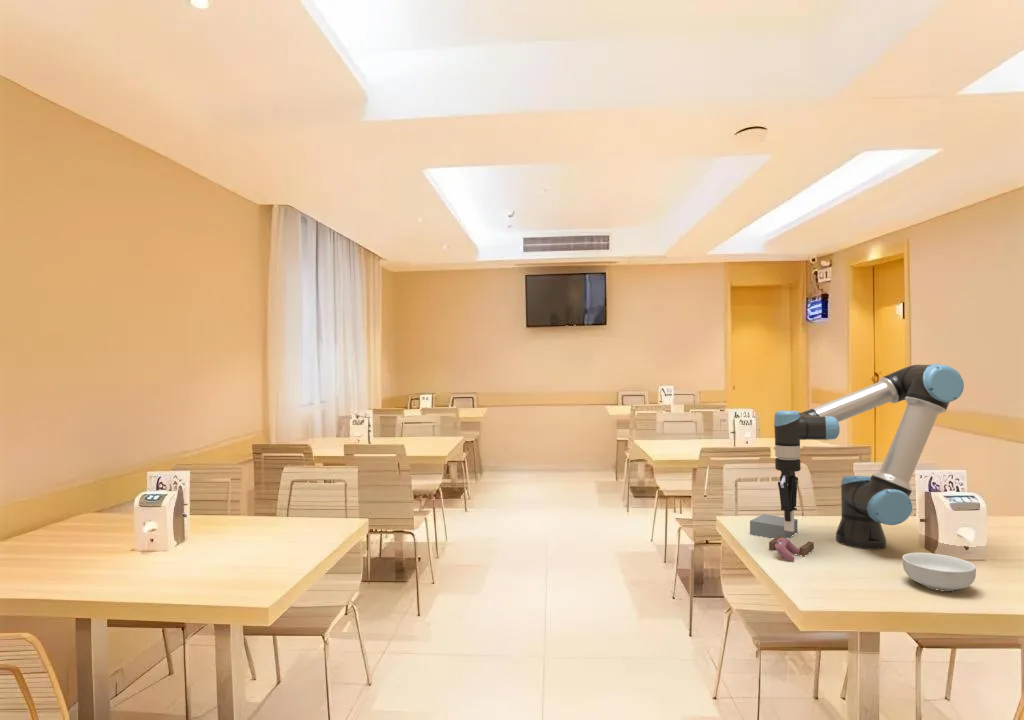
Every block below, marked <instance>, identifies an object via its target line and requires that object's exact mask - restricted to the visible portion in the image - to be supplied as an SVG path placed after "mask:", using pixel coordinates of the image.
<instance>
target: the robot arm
mask: <svg viewBox="0 0 1024 720" xmlns="http://www.w3.org/2000/svg"><path fill="white" fill-rule="evenodd" d="M964 387H965V384H964V379H963V377H962V375H961V374H960V372H959V371H958V370H957V369H955V368H953V367H952V366H950V365H946V364H941V363H936V364H935V363H933V364H913V365H909V366H906V367H903V368H901V369H898V370H896V371H894V372H892V373H889V374H887V375H885V376H882V377H880V378H879V379H878V381H877V382H876V383H872V384H870V385H868V386H865V387H862V388H859V389H858V390H856V391H853V392H850V393H848V394H844V395H843V396H840V397H838V398H835V399H833V400H831V401H827V402H825V403H822V404H820V405H818V406H815V407H812V408H810V409H808V410H805V411H803V412H799V411H798V410H777V411H776V412H775V413H774V419H773V421H774V423H773V426H774V428H773V429H774V447H773V450H774V455H775V457H776V458H775V459H774V461H775V462H774V464H775V465H774V466H775V467H774V468H775V470H777V471H780V477H779V480H780V481H778V482H777V486H778V490H779V500H780V501H779V502H780V511H783V517H784V530H785V531H791V532H793V531H794V519H795V511H797V510H798V508H797V496H798V495H797V494H798V482H799V477H797V476H796V472H800V471H801V466H802V465H801V460H800V458H801V441H805V440H809V441H810V440H811V441H813V440H817V441H818V440H822V441H823V440H825V441H828V440H829V441H830V440H836V439H837V438H838V437H839V435H840V422H842V421H845V420H848V419H849V418H852V417H855V416H857V415H860V414H863V413H865V412H868V411H870V410H872V409H876V408H877V407H880V406H883V405H886V404H888V403H891V404H896V403H899V402H903V401H906V403H907V406H906V408H905V411H904V413H903V415H902V418H901V420H900V421H899V424H898V427H897V429H896V432H895V434H894V437H893V439H892V442H891V444H890V446H889V448H888V450H887V453H886V455H885V457H884V460H883V462H882V465H881V467H880V468H879V471H878V472H875V473H873V474H872V475H845V476H842V478H841V482H840V483H841V484H840V490H841V492H840V494H841V498H840V499H841V501H840V502H841V503H840V505H841V506H840V507H841V518H840V521H839V524H838V526H837V529H836V533H835V541H836V542H838V543H839V544H842V543H843V544H842V545H845V546H848V547H849V546H850V547H854V548H861V549H868V548H869V549H873V550H875V549H876V550H877V549H884V548H886V547H887V538H886V535H885V532H884V529H883V527H882V524H883V525H887V526H896V525H897V526H898V525H899V524H902V523H904V522H905V521H907V519H909V517H910V516H911V515H912V513H913V503H912V500H911V498H910V496H911V494H912V491H913V489H912V487H911V486H910V481H911V479H912V476H913V474H914V472H915V470H916V467H917V465H918V463H919V460H920V458H921V456H922V453H923V452H924V451H923V450H924V448H925V446H926V443H927V441H928V439H929V437H930V434H931V432H932V430H933V427H934V426H935V425H934V424H935V423H936V420H937V418H938V416H939V415H940V414H942V413H946V412H947V409H948V407H949V405H950V403H951V402H955V400H957V399H959V398H960V397H961V396H962V394H963V392H964V389H965V388H964Z"/></svg>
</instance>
